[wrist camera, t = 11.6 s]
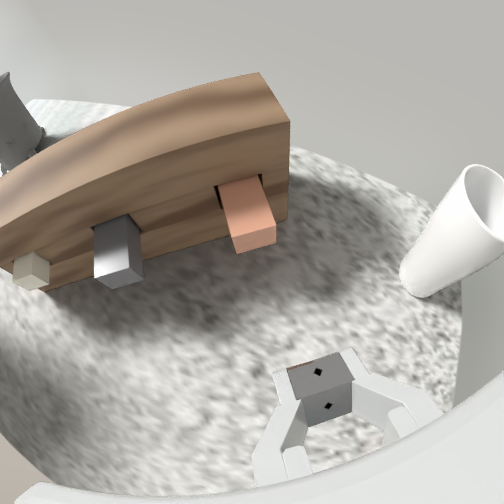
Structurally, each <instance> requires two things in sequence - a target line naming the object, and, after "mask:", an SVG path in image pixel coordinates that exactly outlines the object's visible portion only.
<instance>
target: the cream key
mask: <svg viewBox="0 0 504 504" xmlns="http://www.w3.org/2000/svg"><path fill="white" fill-rule="evenodd" d="M49 269H50V262H49V261H47V260H46V259H44V258H43V257H41V256H40V255H38V254H37V253H36V252H34V251H32V252H30V253H27V254H25V255H23V256H21V257H19V258H16V259H14V267H13V278H12V282H13V283H15V284H17V285H19V286H21V287H23V288H25V289H27V290H28V291H31V290H34V289H37V288H40V287H42V286H45V285H48V284H49Z"/></svg>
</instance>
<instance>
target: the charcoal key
mask: <svg viewBox="0 0 504 504" xmlns="http://www.w3.org/2000/svg"><path fill="white" fill-rule="evenodd" d="M94 278H95V279H96V280H98V281H99V282H101V283H103V284H104V285H106V286H107V287H109V288H110V289H115V288H118V287H122V286H125V285H129V284H132V283H136V282H139V281H143V280H144V272H143V263H142V252H141V241H140V228H139V227H138V226H137V224H136V223H135V222H134V221H133V220H132V218H131V217H130V216H129V215H128V213H127V214H124V215H122V216H119V217H116V218H113V219H111V220H108V221H105V222H103V223H100V224H97V225H95V226H94Z"/></svg>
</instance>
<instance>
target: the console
mask: <svg viewBox="0 0 504 504" xmlns="http://www.w3.org/2000/svg"><path fill="white" fill-rule="evenodd" d="M289 153H290V120H289V118H288V117H287V115H286V113H285V112H284V110H283V108H282V107H281V105H280V104H279V102H278V100H277V99H276V97H275V96H274V94H273V93H272V91H271V89H270V88H269V86H268V85H267V83H266V82H265V80H264V79H263V77H262V76H261V74H260V73H259V72H258V73H252V74H247V75H242V76H237V77H233V78H228V79H224V80H219V81H215V82H211V83H207V84H203V85H199V86H196V87H193V88H189V89H185V90H182V91H178V92H175V93H172V94H169V95H166V96H163V97H160V98H157V99H154V100H151V101H148V102H146V103H143V104H140V105H137V106H135V107H132V108H129V109H127V110H124V111H122V112H120V113H117V114H115V115H112V116H110V117H108V118H105V119H103V120H101V121H99V122H96V123H94V124H92V125H90V126H88V127H86V128H84V129H82V130H80V131H78V132H76V133H74V134H72V135H70V136H68V137H66V138H64V139H62V140H60V141H58V142H57V143H55V144H53V145H51V146H49V147H48V148H46V149H44V150H42V151H41V152H39V153H37V154H36V155H34V156H32V157H31V158H29V159H28V160H26V161H24V162H23V163H21V164H20V165H18V166H17V167H15V168H14V169H12V170H11V171H9V172H8V173H6V174H5V175H3V176H2V177H1V178H0V267H1V268H2V269H4V270H6V271H7V272H9V273H11V274H12V275H13V267H14V259H16V258H19V257H21V256H23V255H25V254H27V253H30V252H32V251H34V252H36V253H37V254H38V255H40V256H41V257H43V258H44V259H46V260H47V261H49V262H50V269H49V284H48V285H45V286H42V287H40V288H38V289H40V290H42V291H44V292H45V291H48V290H51V289H54V288H57V287H60V286H63V285H66V284H69V283H73V282H76V281H79V280H82V279H85V278H88V277H91V276H94V226H95V225H97V224H100V223H103V222H105V221H108V220H111V219H113V218H116V217H119V216H122V215H124V214H127V213H128V215H129V216H130V217H131V218H132V220H133V221H134V222H135V223H136V224H137V226H138V227H139V228H140V241H141V252H142V261H143V260H147V259H150V258H153V257H157V256H160V255H163V254H167V253H170V252H174V251H177V250H180V249H184V248H187V247H191V246H194V245H198V244H201V243H204V242H208V241H211V240H215V239H218V238H222V237H226V236H229V235H231V234H230V230H229V226H228V223H227V219H226V215H225V211H224V207H223V204H222V200H221V196H220V192H219V188H218V185H219V184H223V183H226V182H230V181H234V180H237V179H241V178H245V177H249V176H253V175H258V177H259V180H260V182H261V185H262V188H263V190H264V193H265V196H266V199H267V201H268V204H269V207H270V209H271V212H272V215H273V218H274V220H275V223H276V222H280V221H284V220H287V210H288V185H289Z"/></svg>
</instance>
